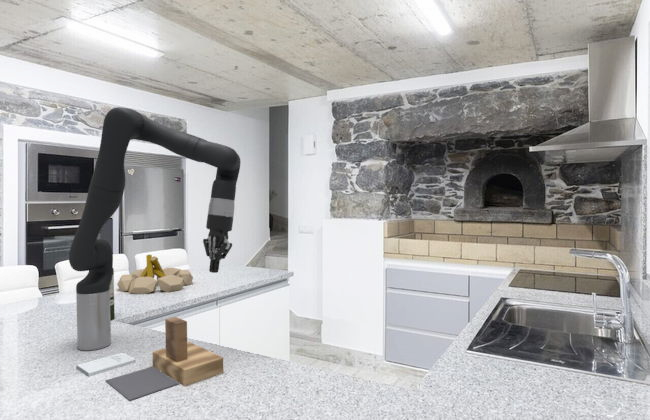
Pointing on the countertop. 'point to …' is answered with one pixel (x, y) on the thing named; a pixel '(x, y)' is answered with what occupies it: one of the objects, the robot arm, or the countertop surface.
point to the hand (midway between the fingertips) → (213, 272)
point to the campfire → (146, 283)
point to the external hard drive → (105, 364)
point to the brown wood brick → (176, 339)
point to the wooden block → (189, 364)
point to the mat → (141, 383)
